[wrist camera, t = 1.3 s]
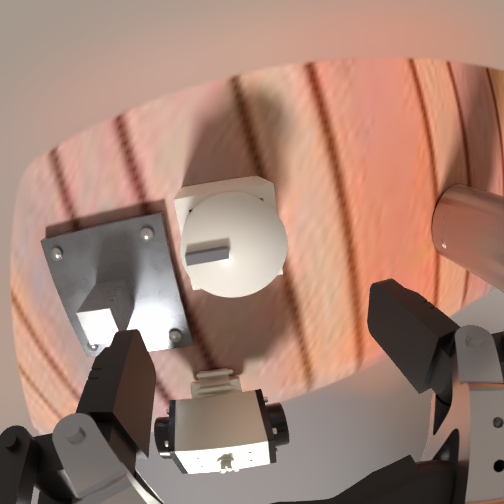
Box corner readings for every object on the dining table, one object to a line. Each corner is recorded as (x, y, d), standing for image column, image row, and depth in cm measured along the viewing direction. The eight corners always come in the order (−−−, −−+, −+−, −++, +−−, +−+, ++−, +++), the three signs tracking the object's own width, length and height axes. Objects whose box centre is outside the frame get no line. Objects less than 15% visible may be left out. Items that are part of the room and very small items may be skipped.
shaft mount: (162, 210, 23) (149, 230, 17) (193, 338, 27) (194, 380, 22) (45, 237, 21) (12, 261, 16) (89, 350, 26) (73, 388, 21)
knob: (256, 175, 23) (284, 188, 15) (264, 246, 25) (293, 290, 17) (181, 187, 22) (169, 207, 15) (194, 258, 25) (192, 309, 17)
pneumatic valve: (159, 369, 28) (150, 462, 17) (265, 355, 30) (296, 445, 19) (172, 401, 30) (170, 486, 19) (268, 388, 32) (294, 471, 21)
